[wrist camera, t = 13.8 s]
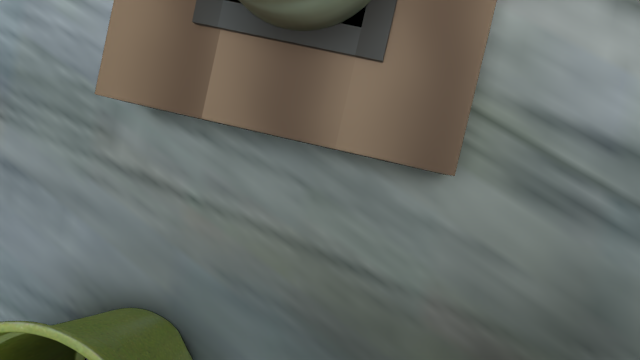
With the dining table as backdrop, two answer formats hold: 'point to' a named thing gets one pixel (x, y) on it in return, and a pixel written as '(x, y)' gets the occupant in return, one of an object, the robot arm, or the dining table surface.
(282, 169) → the dining table surface
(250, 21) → the hole block
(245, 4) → the peg
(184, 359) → the plant pot
